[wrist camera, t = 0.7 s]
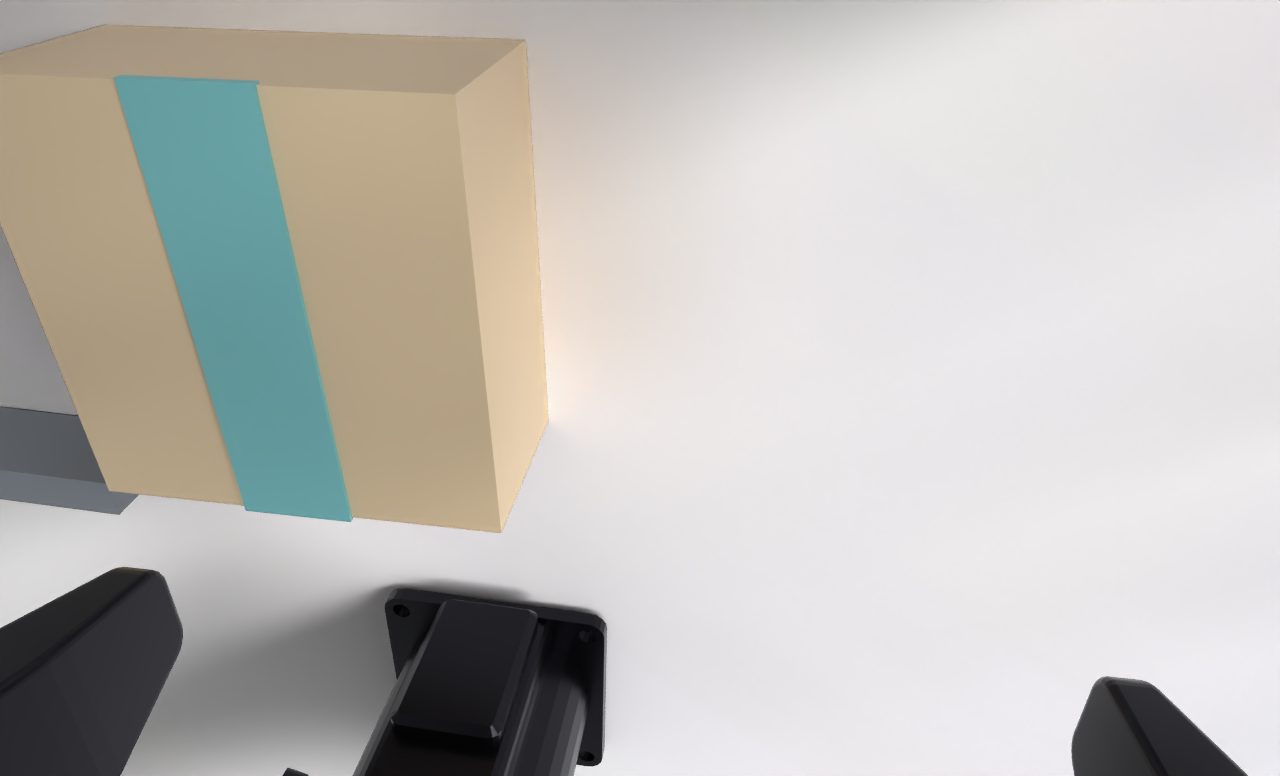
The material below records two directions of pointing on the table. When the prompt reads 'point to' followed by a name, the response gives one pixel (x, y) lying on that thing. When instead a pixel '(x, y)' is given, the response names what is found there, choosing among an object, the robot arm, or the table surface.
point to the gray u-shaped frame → (52, 463)
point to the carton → (286, 264)
